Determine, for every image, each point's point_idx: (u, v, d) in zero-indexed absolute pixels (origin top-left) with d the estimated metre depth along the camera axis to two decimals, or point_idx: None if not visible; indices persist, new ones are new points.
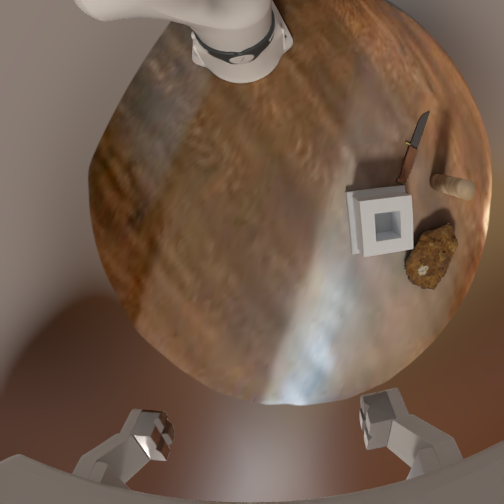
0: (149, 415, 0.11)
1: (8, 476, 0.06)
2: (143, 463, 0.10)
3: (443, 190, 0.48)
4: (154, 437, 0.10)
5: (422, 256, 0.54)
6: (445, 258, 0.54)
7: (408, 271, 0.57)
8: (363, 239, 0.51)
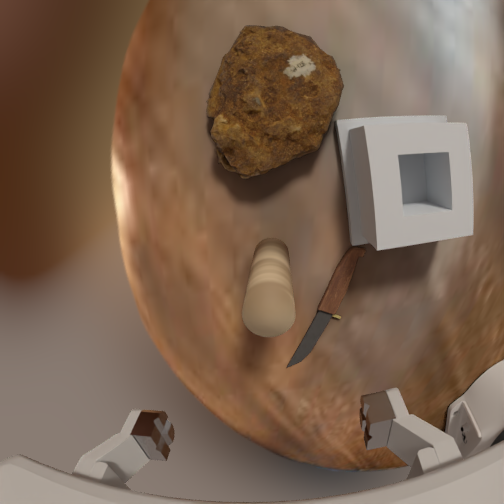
0: (149, 415, 0.11)
1: (8, 476, 0.06)
2: (143, 463, 0.10)
3: (285, 261, 0.25)
4: (154, 437, 0.10)
5: (312, 98, 0.23)
6: (243, 96, 0.23)
7: (332, 63, 0.23)
8: (469, 159, 0.20)
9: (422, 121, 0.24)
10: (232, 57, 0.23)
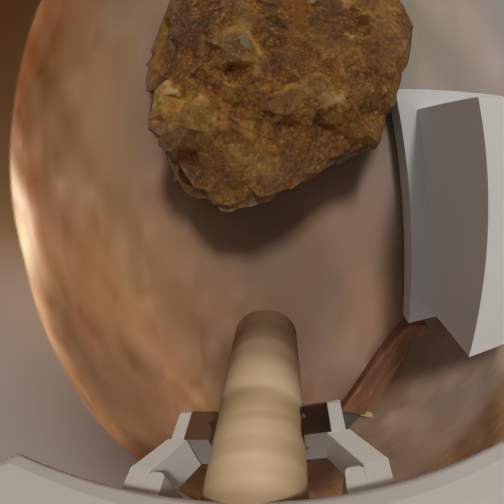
0: (202, 417, 0.10)
1: (8, 476, 0.06)
2: (194, 468, 0.10)
3: (292, 382, 0.12)
4: (211, 440, 0.10)
5: (362, 38, 0.09)
6: (212, 37, 0.09)
7: None
8: None
9: None
10: None
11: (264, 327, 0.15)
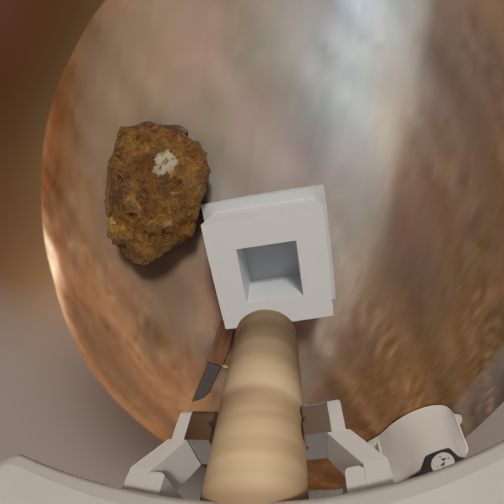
0: (202, 417, 0.10)
1: (8, 476, 0.06)
2: (194, 468, 0.10)
3: (292, 382, 0.11)
4: (211, 440, 0.10)
5: (178, 193, 0.27)
6: (123, 201, 0.28)
7: (196, 149, 0.27)
8: (325, 244, 0.25)
9: (292, 196, 0.29)
10: (112, 162, 0.27)
11: (264, 326, 0.15)
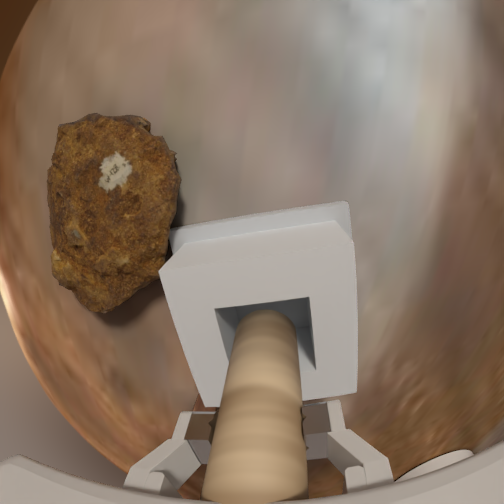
0: (202, 417, 0.10)
1: (8, 476, 0.06)
2: (194, 468, 0.10)
3: (292, 381, 0.11)
4: (211, 440, 0.10)
5: (134, 215, 0.18)
6: (64, 229, 0.18)
7: (160, 149, 0.18)
8: (354, 301, 0.15)
9: (302, 218, 0.19)
10: (51, 175, 0.18)
11: (264, 326, 0.15)
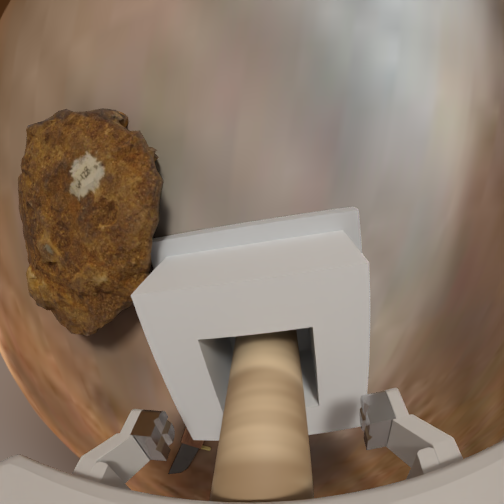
0: (149, 415, 0.11)
1: (8, 476, 0.06)
2: (143, 463, 0.10)
3: (293, 363, 0.13)
4: (154, 437, 0.10)
5: (110, 226, 0.15)
6: (36, 243, 0.15)
7: (137, 146, 0.14)
8: (366, 330, 0.12)
9: (303, 228, 0.16)
10: (21, 183, 0.15)
11: None
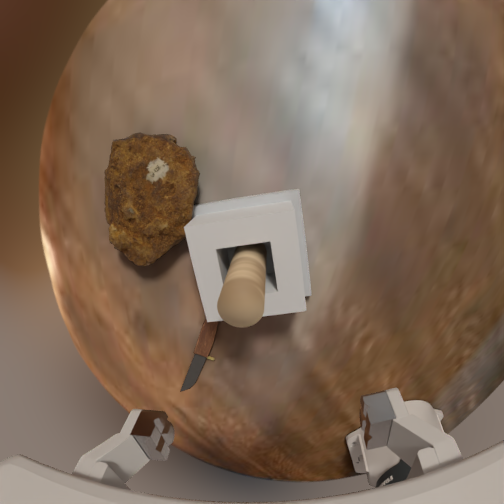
0: (149, 415, 0.11)
1: (8, 476, 0.06)
2: (143, 463, 0.10)
3: (260, 259, 0.28)
4: (154, 437, 0.10)
5: (171, 196, 0.30)
6: (121, 208, 0.30)
7: (185, 155, 0.29)
8: (297, 245, 0.27)
9: (270, 199, 0.31)
10: (109, 173, 0.30)
11: None
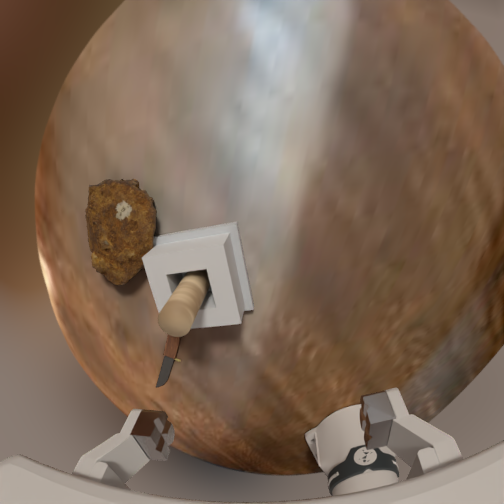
0: (149, 415, 0.11)
1: (8, 476, 0.06)
2: (143, 463, 0.10)
3: (200, 283, 0.35)
4: (154, 437, 0.10)
5: (135, 231, 0.37)
6: (99, 240, 0.37)
7: (144, 197, 0.36)
8: (228, 271, 0.34)
9: (212, 232, 0.38)
10: (88, 212, 0.37)
11: None
